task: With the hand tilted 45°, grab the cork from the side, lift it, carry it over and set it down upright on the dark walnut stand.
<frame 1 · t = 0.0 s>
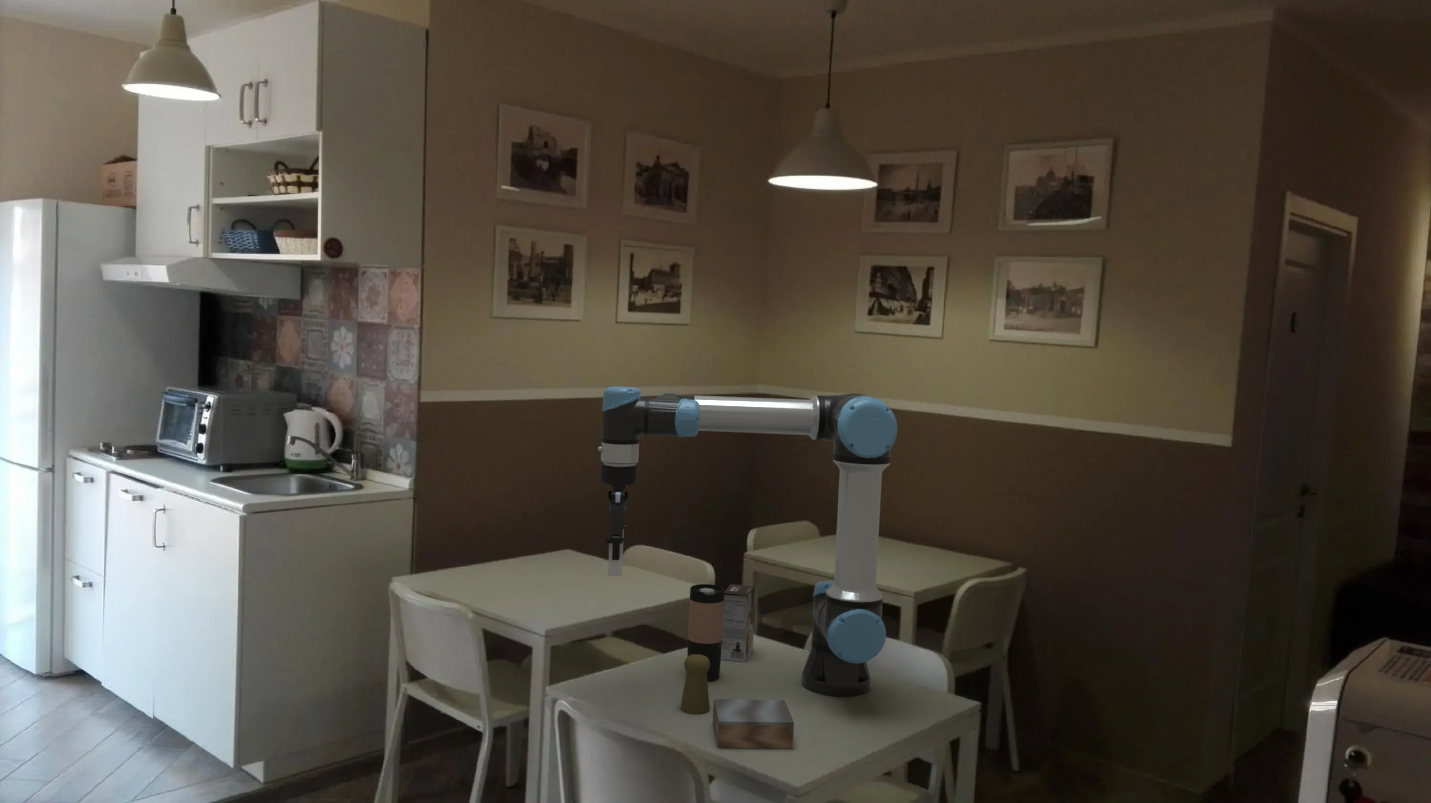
hand: (615, 567, 219), 28 cm above the table, tool pointing down, fingers open, 13 cm apart
coffee box: (736, 656, 257), on the table
travel mug: (703, 677, 240), on the table
cork: (695, 709, 220), on the table
walnut stand: (751, 735, 207), on the table
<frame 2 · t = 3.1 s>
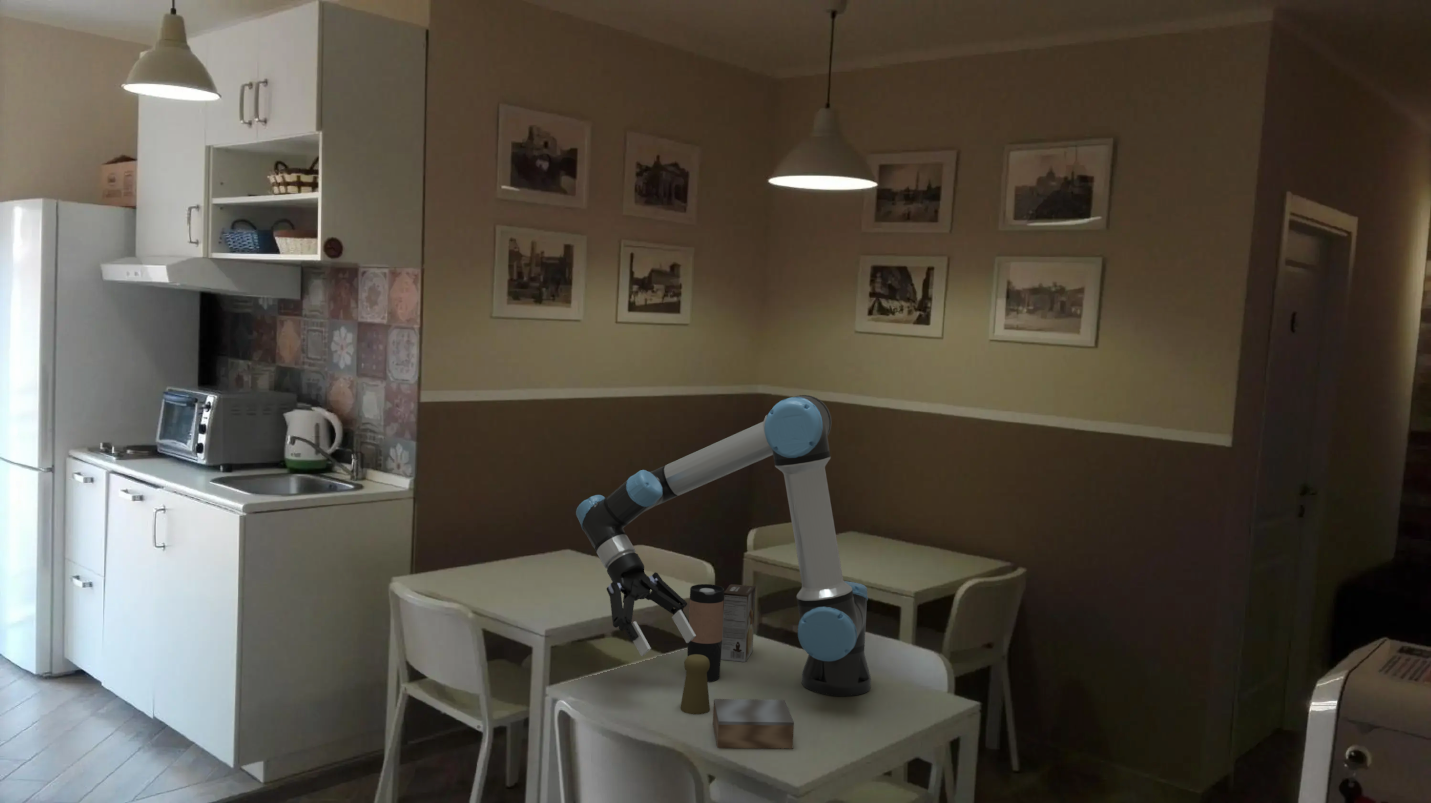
hand: (669, 645, 223), 11 cm above the table, tool tilted 45°, fingers open, 13 cm apart
nothing on the table moved.
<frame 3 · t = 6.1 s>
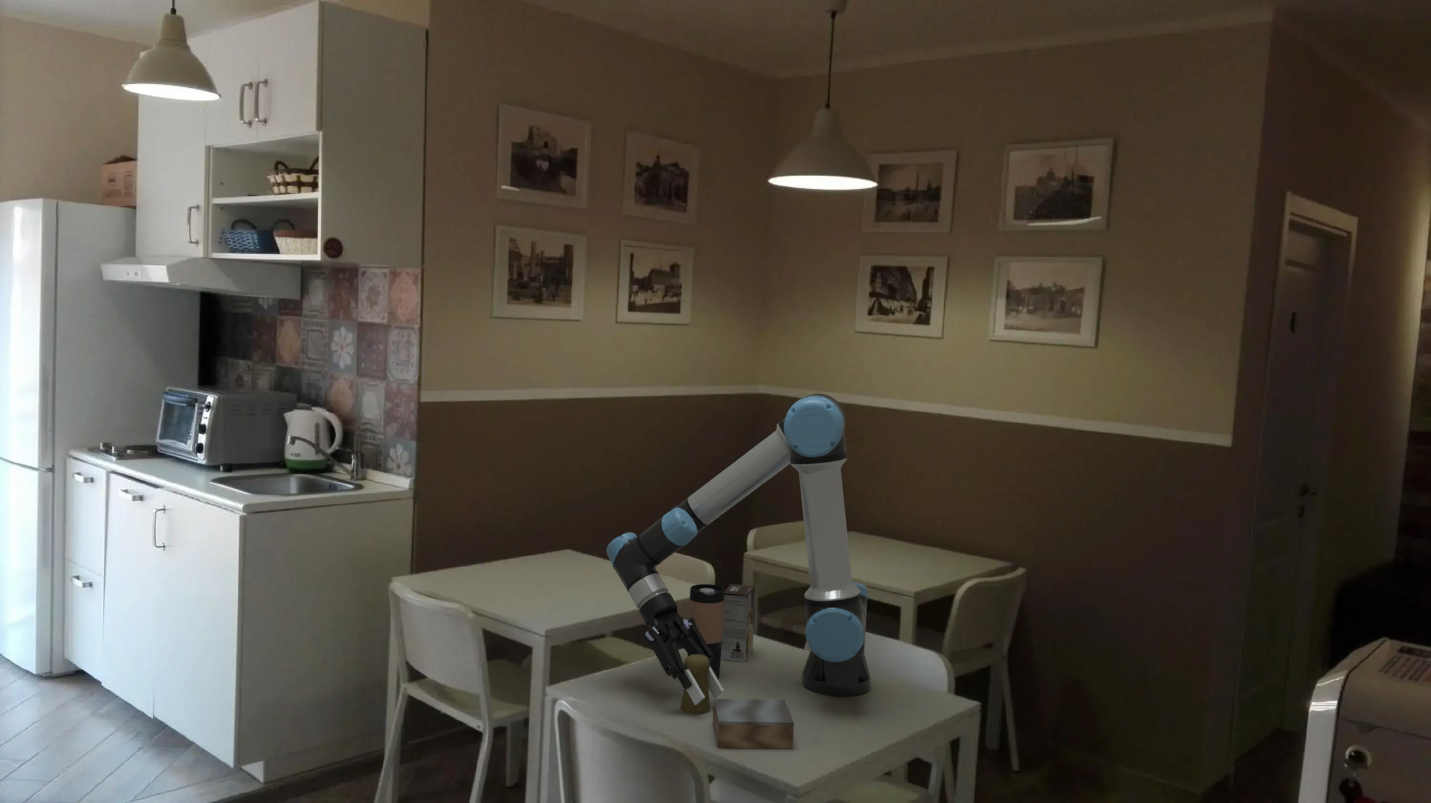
hand: (709, 697, 217), 3 cm above the table, tool tilted 45°, fingers closed on cork, 5 cm apart
cork: (695, 709, 220), on the table, touching gripper
everything else where it was.
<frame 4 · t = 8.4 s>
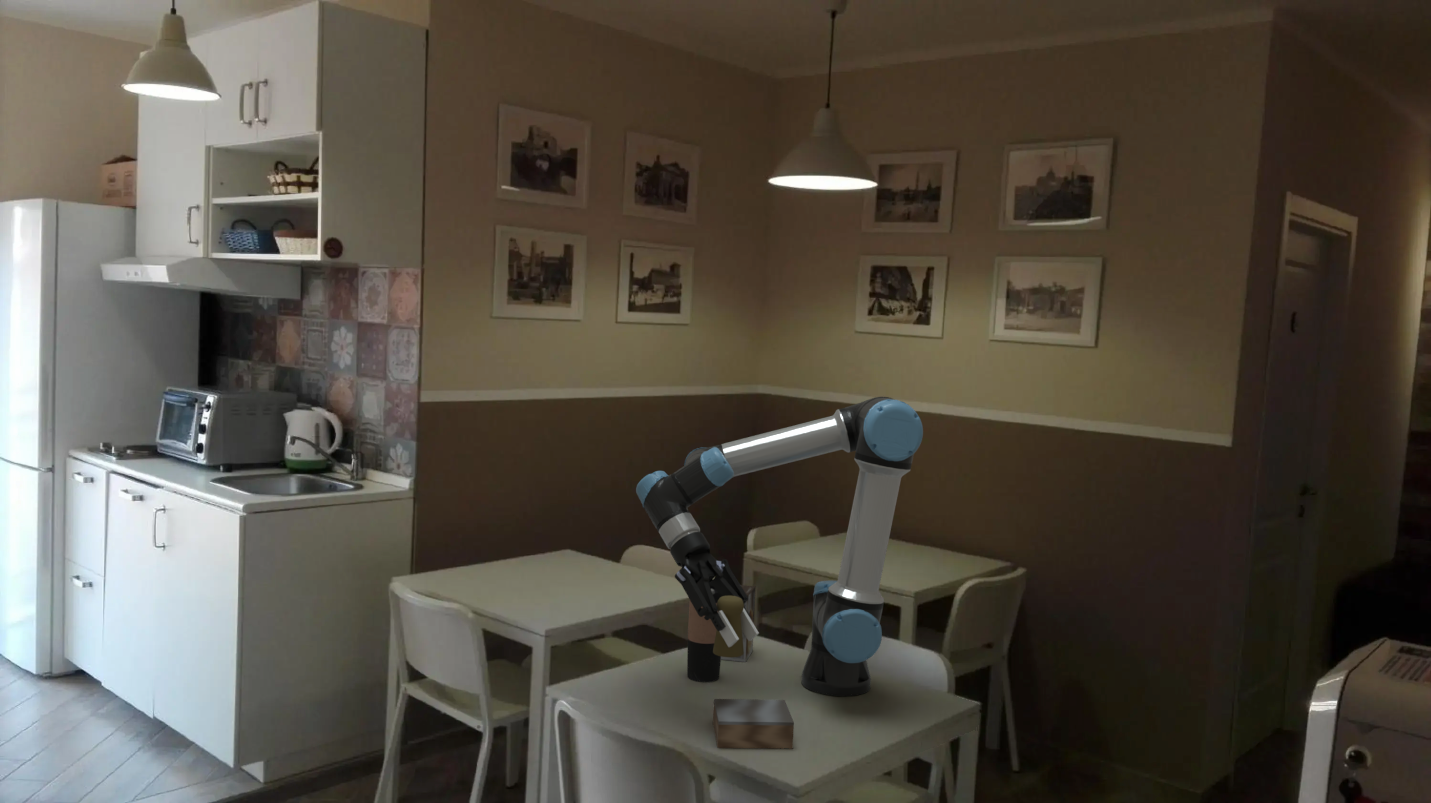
hand: (743, 639, 207), 18 cm above the table, tool tilted 45°, fingers closed on cork, 5 cm apart
cork: (728, 653, 210), point 15 cm above the table, touching gripper
everything else where it was.
when the fingers open (10 cm above the table, at t = 10.7 s): cork drops 1 cm, resting on walnut stand.
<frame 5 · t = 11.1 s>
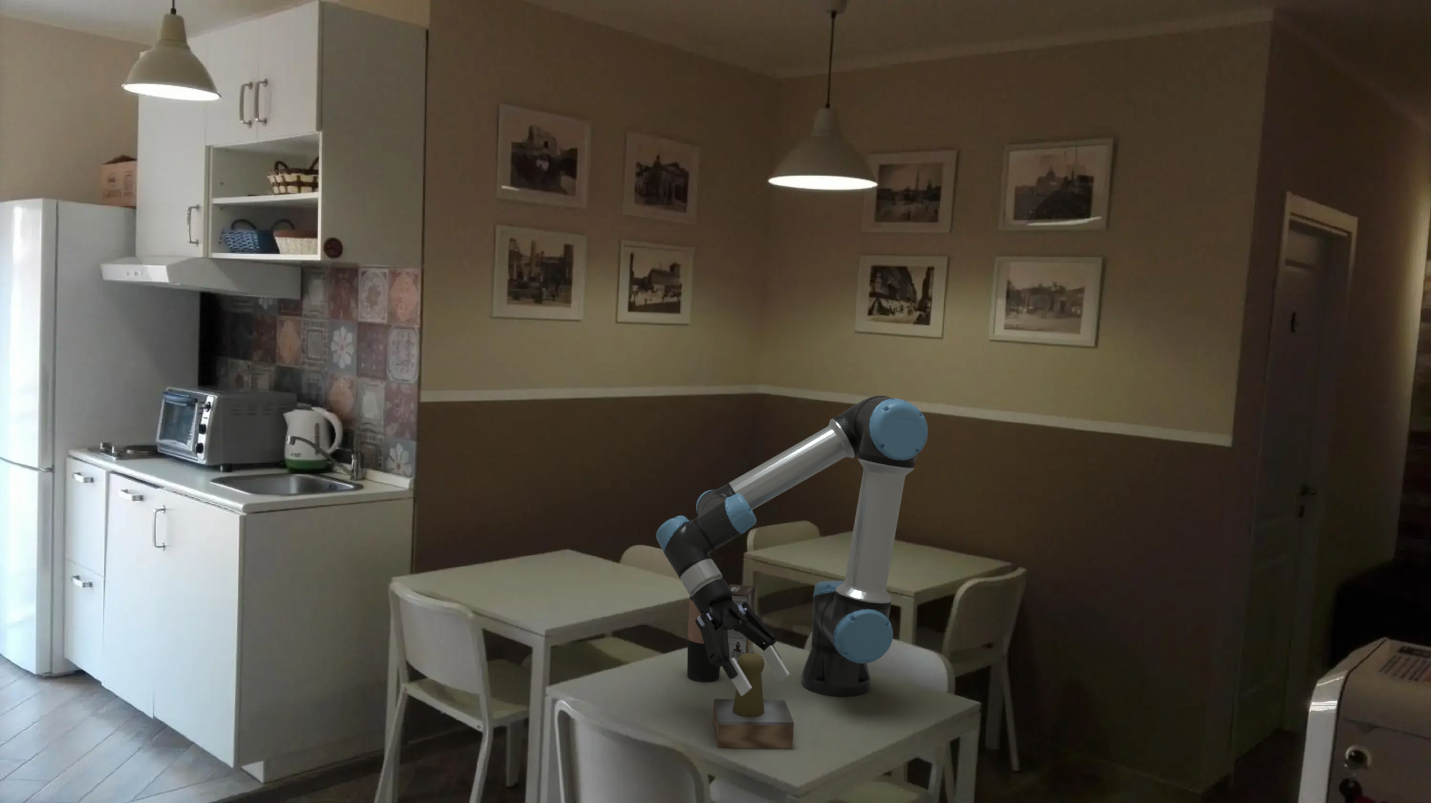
hand: (765, 684, 204), 11 cm above the table, tool tilted 45°, fingers open, 11 cm apart
cork: (748, 712, 206), point 5 cm above the table, touching walnut stand
everything else where it was.
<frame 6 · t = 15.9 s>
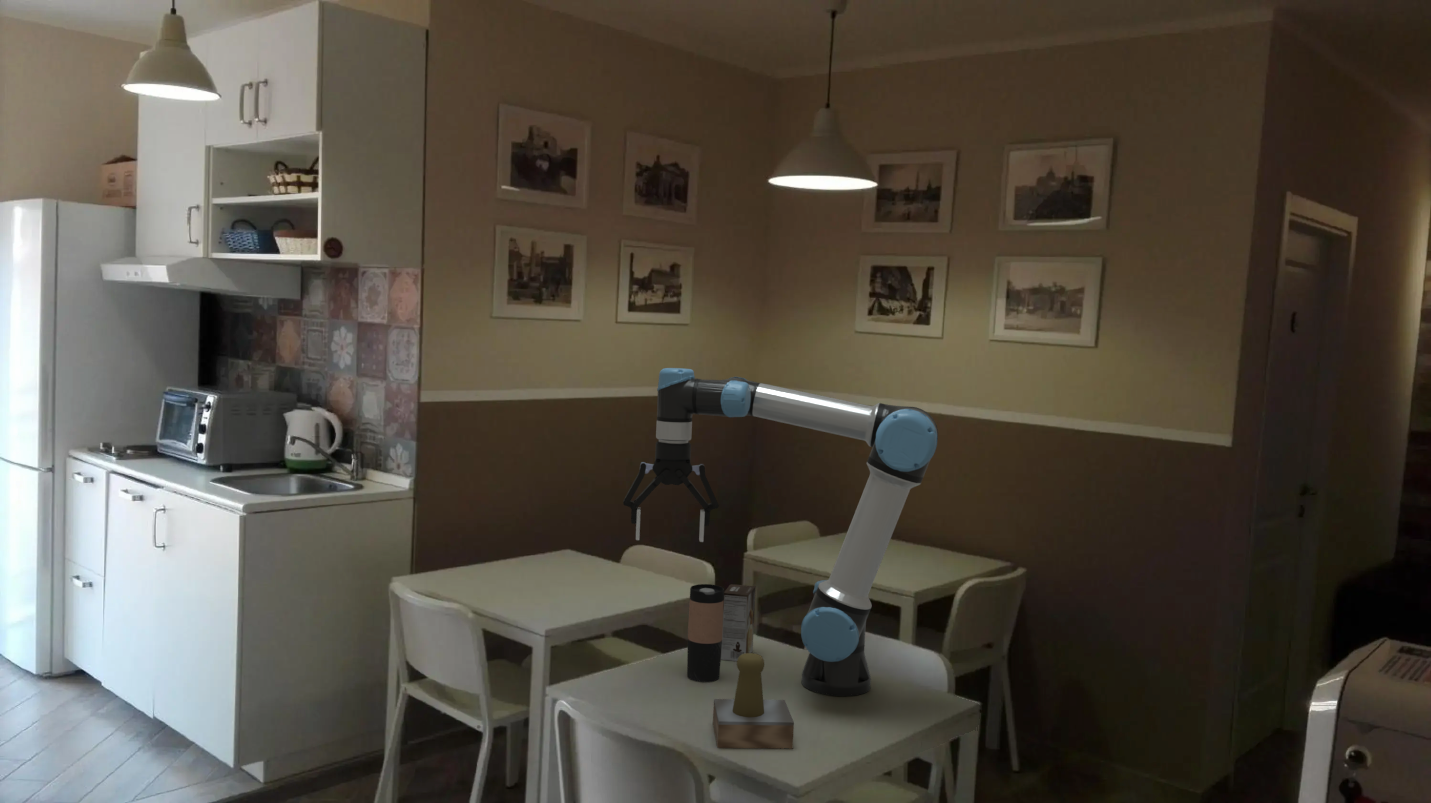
hand: (669, 539, 231), 32 cm above the table, tool pointing down, fingers open, 13 cm apart
nothing on the table moved.
at the end: cork inside the target area on the walnut stand (1.1 cm from its centre), point 4.8 cm above the walnut stand's base; cork tilted 0°; the gripper is holding nothing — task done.
